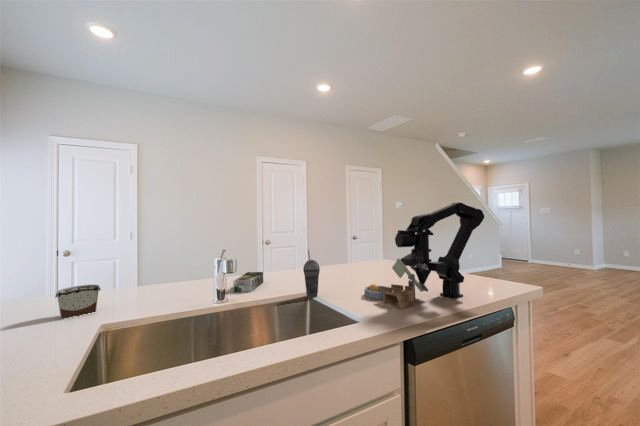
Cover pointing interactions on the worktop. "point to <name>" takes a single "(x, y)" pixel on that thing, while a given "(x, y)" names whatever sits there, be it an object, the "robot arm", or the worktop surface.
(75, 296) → the food container
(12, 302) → the worktop surface
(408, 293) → the ramp
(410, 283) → the lever post
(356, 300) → the worktop surface
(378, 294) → the bowl
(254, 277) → the juice carton
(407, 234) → the robot arm
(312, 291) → the beverage cup
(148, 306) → the worktop surface
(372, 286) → the ball
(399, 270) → the lever
